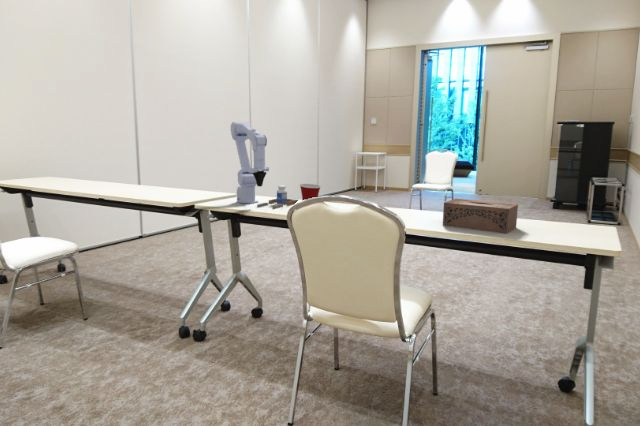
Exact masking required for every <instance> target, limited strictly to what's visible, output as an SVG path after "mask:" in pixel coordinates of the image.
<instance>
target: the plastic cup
mask: <svg viewBox="0 0 640 426" xmlns="http://www.w3.org/2000/svg"><path fill="white" fill-rule="evenodd" d="M299 187H300V192H301V197H302V201H303V200H304V199H308V198H312V197H319V193H320V190H321V188H322V186H321V185H319V184H314V183H300V184H299Z"/></svg>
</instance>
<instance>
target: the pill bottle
mask: <svg viewBox="0 0 640 426" xmlns="http://www.w3.org/2000/svg"><path fill="white" fill-rule="evenodd" d="M286 188H287V186H286V185H277V190H276V199H277V203H276V205H278V204H283V206H284V205H287V199H288V190H287V189H286Z"/></svg>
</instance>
